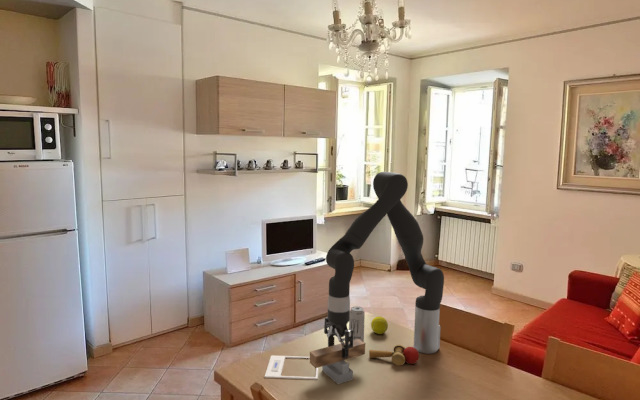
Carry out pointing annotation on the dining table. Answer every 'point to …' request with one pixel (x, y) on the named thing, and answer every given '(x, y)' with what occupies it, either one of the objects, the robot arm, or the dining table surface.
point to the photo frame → (277, 366)
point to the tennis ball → (379, 325)
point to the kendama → (398, 355)
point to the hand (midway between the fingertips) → (337, 352)
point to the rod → (335, 353)
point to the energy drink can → (357, 322)
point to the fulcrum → (338, 371)
